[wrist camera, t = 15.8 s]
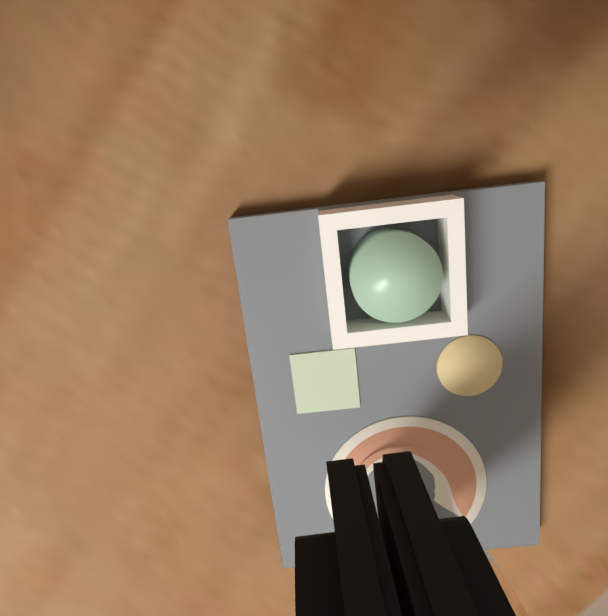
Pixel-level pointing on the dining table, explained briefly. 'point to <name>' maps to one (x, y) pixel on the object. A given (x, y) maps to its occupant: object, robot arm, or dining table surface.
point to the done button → (394, 275)
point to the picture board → (400, 353)
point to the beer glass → (440, 498)
